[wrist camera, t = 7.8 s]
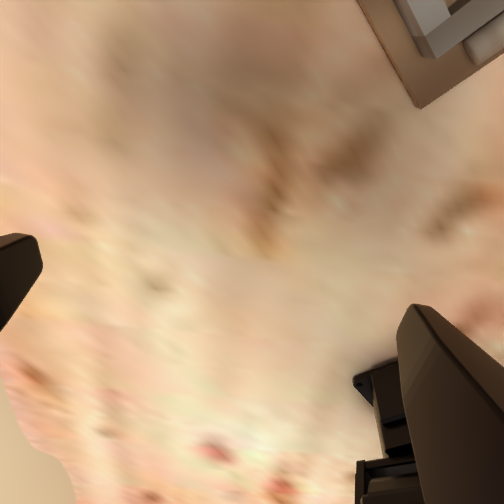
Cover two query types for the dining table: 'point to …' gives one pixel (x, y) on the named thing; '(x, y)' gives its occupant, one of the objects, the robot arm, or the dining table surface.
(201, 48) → the dining table surface
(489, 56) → the frame
